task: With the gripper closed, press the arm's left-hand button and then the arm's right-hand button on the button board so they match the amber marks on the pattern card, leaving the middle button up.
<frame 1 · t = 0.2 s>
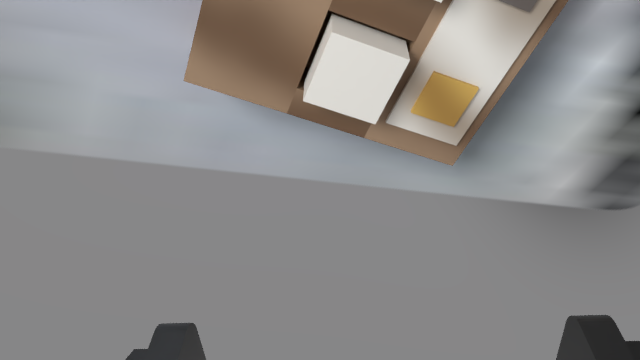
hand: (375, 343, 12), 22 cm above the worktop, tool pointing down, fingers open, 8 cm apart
button 1: (354, 70, 27), point 5 cm above the worktop, slide at 0.0 cm
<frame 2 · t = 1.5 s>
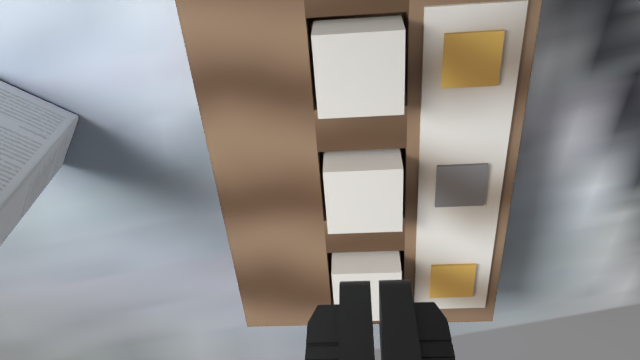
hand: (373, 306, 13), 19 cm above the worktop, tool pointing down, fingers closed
button 2: (358, 68, 25), point 4 cm above the worktop, slide at 0.0 cm
button board: (361, 148, 32), on the worktop
skincare box: (26, 118, 32), on the worktop
button middle: (363, 191, 29), point 4 cm above the worktop, slide at 0.0 cm
button 1: (366, 285, 32), point 5 cm above the worktop, slide at 0.0 cm
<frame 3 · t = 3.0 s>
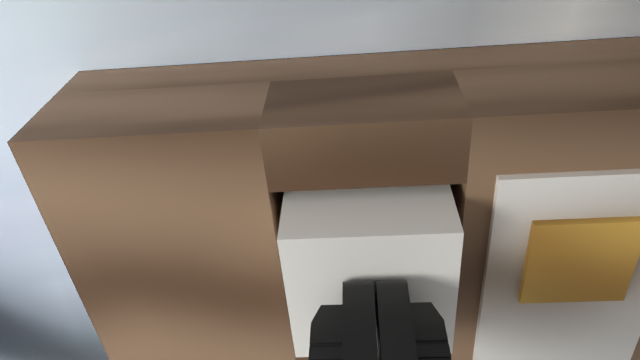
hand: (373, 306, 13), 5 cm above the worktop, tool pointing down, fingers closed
button 2: (369, 271, 13), point 4 cm above the worktop, slide at -0.1 cm, touching gripper
button board: (368, 322, 21), on the worktop
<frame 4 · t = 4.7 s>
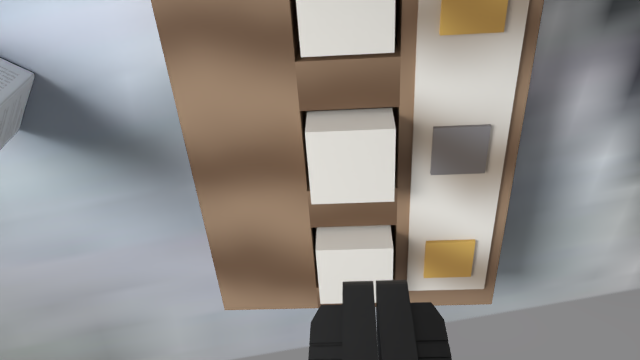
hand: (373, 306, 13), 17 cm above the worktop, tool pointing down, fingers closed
button 2: (345, 0, 23), point 3 cm above the worktop, slide at -1.3 cm
button board: (349, 112, 29), on the worktop
button middle: (351, 156, 26), point 4 cm above the worktop, slide at 0.0 cm
button 1: (354, 264, 30), point 4 cm above the worktop, slide at 0.0 cm
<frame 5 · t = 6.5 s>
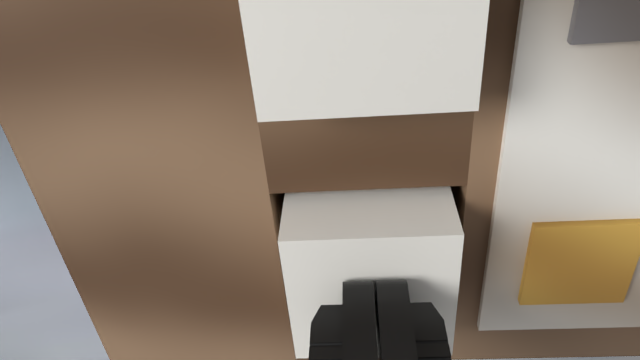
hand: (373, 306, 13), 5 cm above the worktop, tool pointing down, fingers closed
button 1: (369, 272, 13), point 4 cm above the worktop, slide at -0.1 cm, touching gripper
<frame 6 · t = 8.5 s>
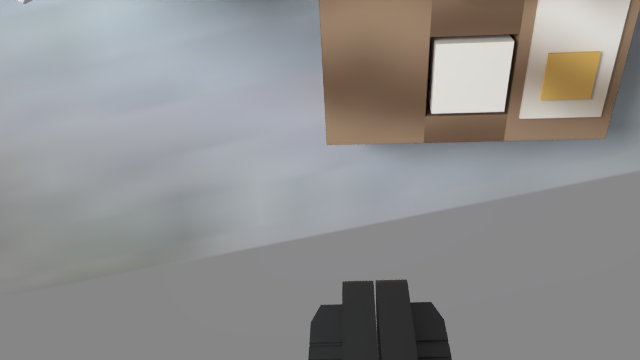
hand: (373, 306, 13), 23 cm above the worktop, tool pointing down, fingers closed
button 1: (467, 72, 30), point 3 cm above the worktop, slide at -1.2 cm
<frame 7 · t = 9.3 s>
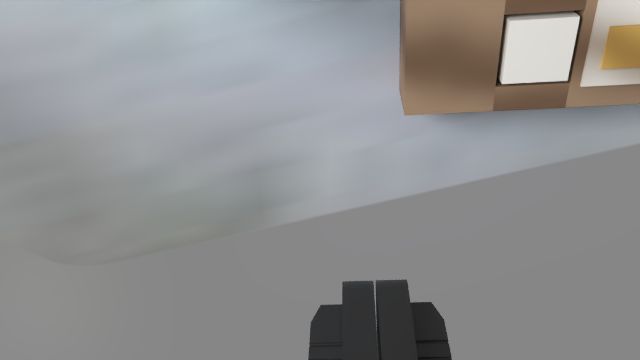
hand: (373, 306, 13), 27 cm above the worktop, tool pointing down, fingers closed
button 1: (534, 45, 33), point 3 cm above the worktop, slide at -1.2 cm
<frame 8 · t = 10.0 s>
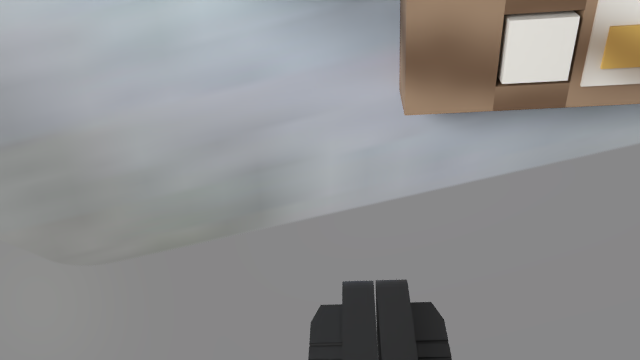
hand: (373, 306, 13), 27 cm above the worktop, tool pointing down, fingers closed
button 1: (534, 45, 33), point 3 cm above the worktop, slide at -1.2 cm
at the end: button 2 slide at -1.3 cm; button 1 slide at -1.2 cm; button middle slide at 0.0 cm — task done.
